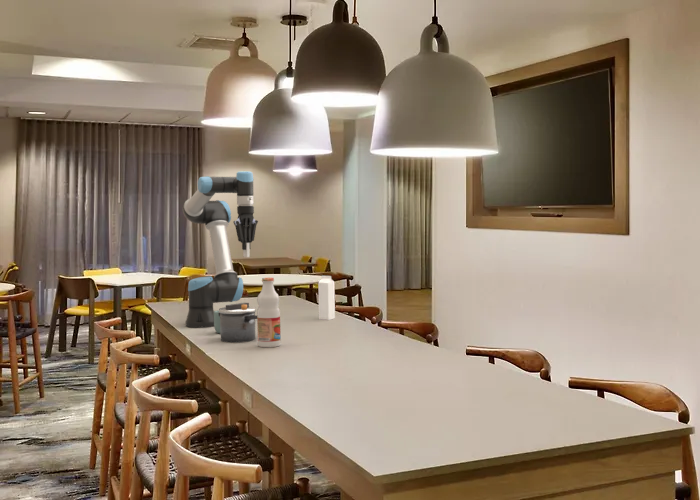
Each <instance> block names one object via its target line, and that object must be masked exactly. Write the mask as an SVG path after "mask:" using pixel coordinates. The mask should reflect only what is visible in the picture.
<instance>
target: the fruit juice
mask: <svg viewBox="0 0 700 500" xmlns="http://www.w3.org/2000/svg"><path fill="white" fill-rule="evenodd" d="M261 282H262V288H261V290H260V293H258V295H257V300H256V301H257V305H258V306H257V307H258V308H257V310H256V312H257V313H256V315H257V319H256V321H257V327H256V328H257V346H258V347H260V348H275V347H279V346H281V343H282V341H281V340H282V339H281V309H280V308H279V304H280V295H279V294H278V293H277V291H276V290H275V286H274V282H275V279H274V277H262V278H261Z"/></svg>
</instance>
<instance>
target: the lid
mask: <svg viewBox="0 0 700 500" xmlns="http://www.w3.org/2000/svg"><path fill="white" fill-rule="evenodd" d="M218 310H219V313H222V314H245V313H252V312H255V313H256V312H257V307H256V306H251V305H250V303H249V302H240V303H239V302H238V303H233V304H226V305H225V306H224V307H220V308H219V309H218Z"/></svg>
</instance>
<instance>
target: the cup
mask: <svg viewBox="0 0 700 500" xmlns="http://www.w3.org/2000/svg"><path fill="white" fill-rule="evenodd" d="M213 327H214V331H215V333H216V334H220V316H219V309H218V310H214V326H213Z"/></svg>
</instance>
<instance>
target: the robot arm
mask: <svg viewBox="0 0 700 500" xmlns="http://www.w3.org/2000/svg"><path fill="white" fill-rule="evenodd" d="M223 193H224V194H236V205H237V206H236V207H237V208H236V211H237V219H236V220H234V221H233V225H234V226H235V230H236V235H237V240H238V242H239V243H240V244H241V249H242V252H243V253H242V254H243V258H250V257H251V255H250V253H251V251H250V250H251V244H252V242H253V241H255V235H256V229H257V224H258V222H259V221H258V220H256V219H255V218H254V213H255V207H254V206H253V205H254V202H255V201H254V199H255V197H254V174H253V172H252V171H245V170H243V171H237V172H236V176H200V177H199V178H198V180H197V190H196V191H195V192H194V193H193V195H192V196H191V197H190V198H188V199H186V200H185V202H184V203H183V206H182V213H183V215H184V217H185V219H187V220H188V221H189V222H191V223H193V224H196V225H197V224H198V225H199V224H201V225H202V224H204V225H205V229H206V230H208V231H209V236H210V237H209V238H210V244H211V249H212V256H213V262H214V268H215V274H214V276H213V277H212V276H210V275H209V276H200V277H196V278H192V279H190V280H188V287H187V291H188V293H187V294H188V312H187V316H186V319H185V327H188V328H210V327H214V311H215V310H214V303H215V304H216V303H217V304H218V303H219V304H220V303H233V302H238V301H240V300H241V298H242V296H243V293H244V281H243V278H242V277H238V272H236V271H234V266H233V261H232V254H231V249H230V248H231V247H230V243H229V237H228V236H229V235H228V231H227V227H229V223H230V222H231V220H232V211H231V208H230V205H229V204H228V203H227V201H224V200H218V199H217V200H211V199H212V198H213V197H214V195H216V194H223Z"/></svg>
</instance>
